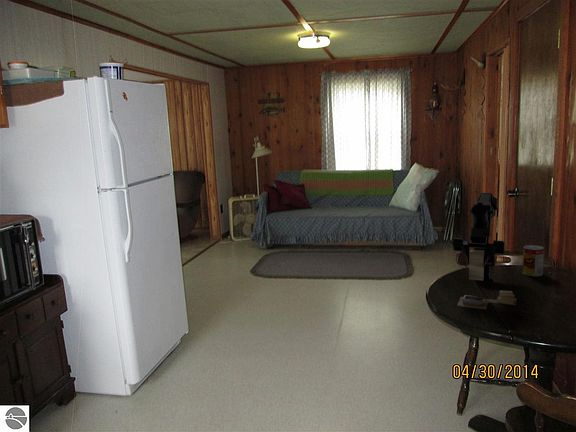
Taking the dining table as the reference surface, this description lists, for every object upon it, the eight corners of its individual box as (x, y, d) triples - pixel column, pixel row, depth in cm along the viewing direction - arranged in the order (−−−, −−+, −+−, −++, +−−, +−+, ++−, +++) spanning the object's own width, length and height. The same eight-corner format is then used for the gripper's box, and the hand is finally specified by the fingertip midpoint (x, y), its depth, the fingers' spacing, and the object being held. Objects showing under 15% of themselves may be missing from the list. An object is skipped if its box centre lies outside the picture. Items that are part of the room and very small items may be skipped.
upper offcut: (499, 294, 177) (499, 290, 177) (512, 294, 176) (512, 291, 175) (500, 299, 172) (501, 295, 172) (514, 299, 171) (514, 295, 170)
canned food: (529, 269, 211) (530, 244, 208) (546, 273, 204) (547, 247, 202) (518, 273, 207) (519, 247, 204) (536, 277, 200) (537, 250, 198)
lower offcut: (499, 297, 178) (499, 293, 178) (514, 298, 175) (514, 295, 175) (498, 302, 173) (498, 298, 172) (513, 304, 170) (513, 300, 170)
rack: (462, 294, 185) (462, 288, 184) (516, 300, 176) (516, 294, 175) (456, 307, 172) (457, 301, 172) (514, 314, 163) (514, 307, 163)
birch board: (469, 276, 182) (470, 249, 180) (483, 278, 180) (484, 250, 178) (468, 279, 180) (469, 251, 178) (482, 280, 177) (483, 252, 175)
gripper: (453, 218, 184) (448, 252, 176) (505, 220, 175) (502, 256, 167) (456, 233, 192) (451, 266, 184) (506, 235, 183) (503, 270, 176)
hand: (476, 264), depth 178 cm, fingers closed on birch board, 5 cm apart
